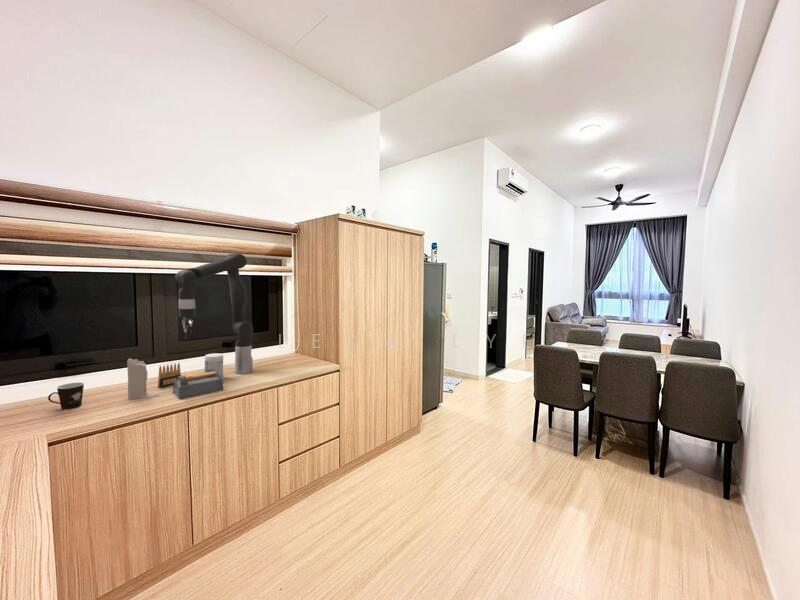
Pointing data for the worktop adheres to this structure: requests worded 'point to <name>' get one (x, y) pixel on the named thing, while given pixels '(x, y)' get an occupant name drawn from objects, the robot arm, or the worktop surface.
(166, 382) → the ammunition clip
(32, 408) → the worktop surface
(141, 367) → the grey upright block
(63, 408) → the coffee mug
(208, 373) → the retention lever
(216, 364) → the supplement tub
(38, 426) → the worktop surface
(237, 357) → the robot arm
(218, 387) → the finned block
